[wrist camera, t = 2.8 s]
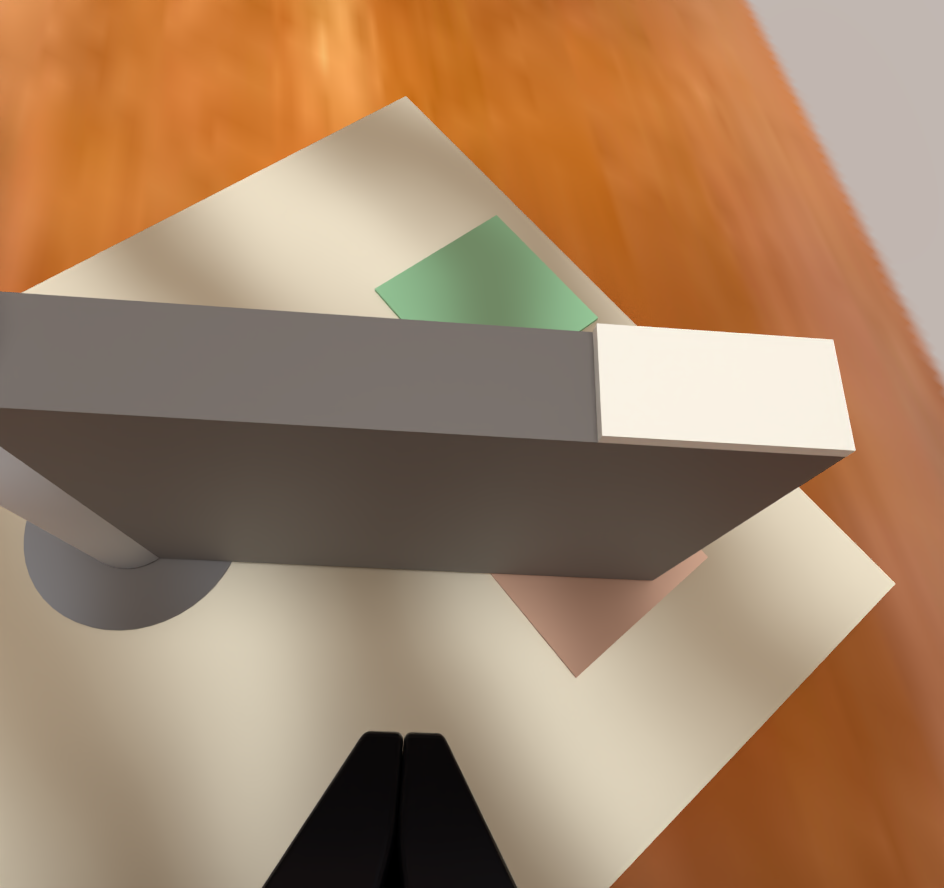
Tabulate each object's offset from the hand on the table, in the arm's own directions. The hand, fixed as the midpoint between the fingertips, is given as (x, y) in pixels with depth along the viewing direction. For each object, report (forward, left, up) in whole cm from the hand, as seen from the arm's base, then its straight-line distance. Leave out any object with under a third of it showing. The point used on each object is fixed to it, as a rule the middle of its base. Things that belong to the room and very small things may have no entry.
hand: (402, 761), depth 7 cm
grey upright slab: (+2, +4, -6) cm, 8 cm away
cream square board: (+1, +5, -7) cm, 9 cm away
